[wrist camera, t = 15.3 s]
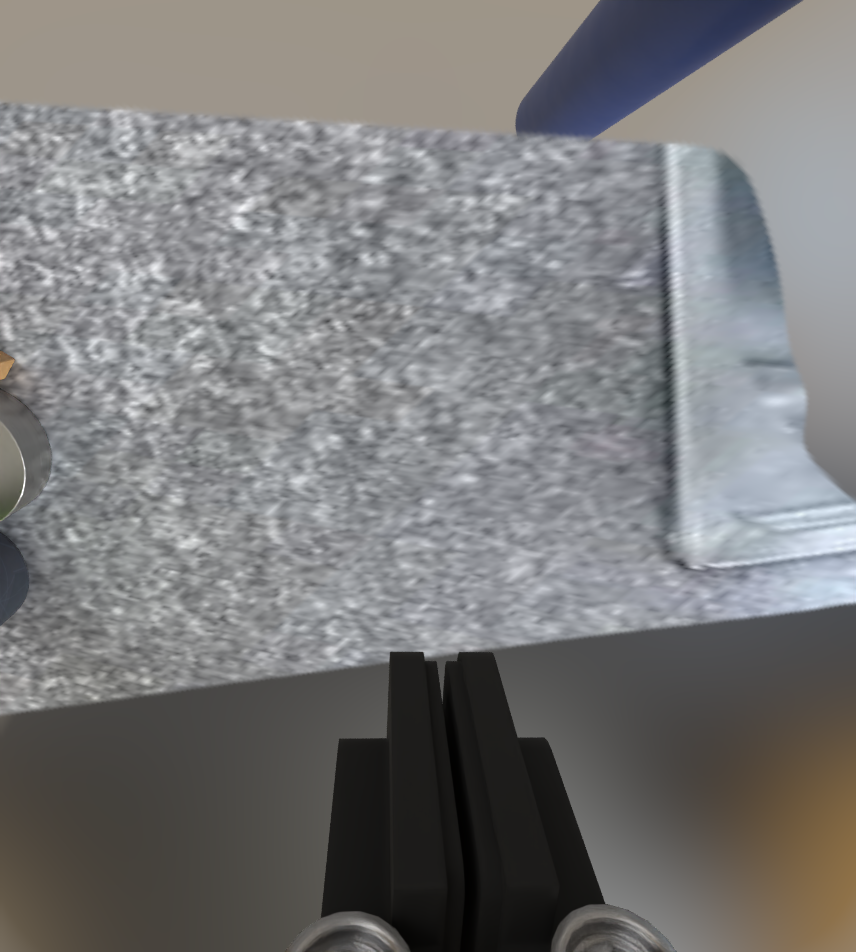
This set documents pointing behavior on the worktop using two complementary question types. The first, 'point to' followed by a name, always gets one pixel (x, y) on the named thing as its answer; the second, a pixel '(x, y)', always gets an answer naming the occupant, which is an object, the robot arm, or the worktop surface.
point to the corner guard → (5, 364)
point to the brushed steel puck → (21, 456)
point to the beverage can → (11, 579)
